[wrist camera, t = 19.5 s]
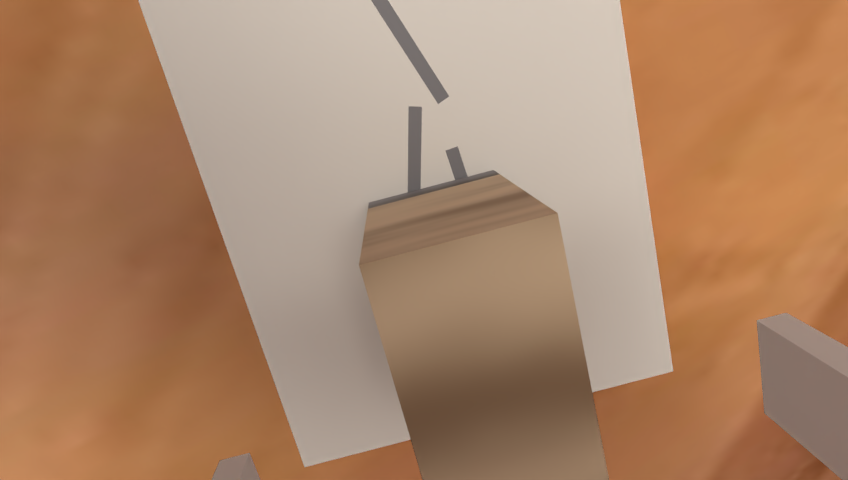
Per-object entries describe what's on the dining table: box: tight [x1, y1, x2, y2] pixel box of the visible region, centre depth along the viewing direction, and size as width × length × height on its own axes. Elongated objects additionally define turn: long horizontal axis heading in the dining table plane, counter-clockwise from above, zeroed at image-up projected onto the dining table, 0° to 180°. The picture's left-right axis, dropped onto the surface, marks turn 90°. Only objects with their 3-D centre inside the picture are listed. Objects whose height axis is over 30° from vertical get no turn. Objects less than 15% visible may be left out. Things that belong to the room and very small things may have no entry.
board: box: [138, 0, 673, 467], centre depth 26 cm, size 30×20×2 cm, turn 14°
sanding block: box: [359, 170, 609, 480], centre depth 22 cm, size 10×6×10 cm, turn 14°
